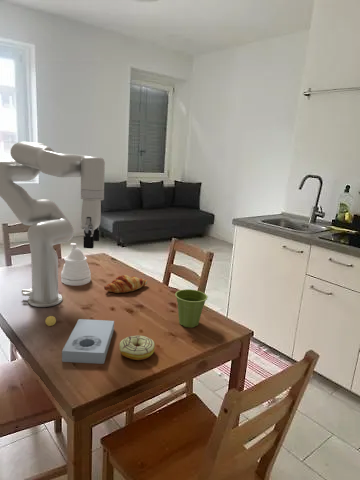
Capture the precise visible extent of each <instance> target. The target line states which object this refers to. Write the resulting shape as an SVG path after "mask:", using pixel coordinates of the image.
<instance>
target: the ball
mask: <svg viewBox="0 0 360 480" xmlns="http://www.w3.org/2000/svg"><path fill="white" fill-rule="evenodd" d="M44 321H45V325H47V326H48V327H52V326H54V325H55V324H56V323H57V318H56V317H55V316H53V315H49V316H47V317H46V318H45V320H44Z"/></svg>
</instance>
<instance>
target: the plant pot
mask: <svg viewBox="0 0 360 480" xmlns="http://www.w3.org/2000/svg"><path fill="white" fill-rule="evenodd" d="M174 297H176V302H177V310H178V313H177V314H178V322H179V323H178V324H179V325H181V326H183V327H184V328H195V327H197V326H199V323H200V321H201V320H200V319H201V316H202V314H203V313H202V312H203V309H204V306H205V304H206V301H207V300H208V298H209V296H208V294H206V293H204V291H203V292H202V291H200V290H197V289H190V288H189V289H188V288H187V289H179V290H177V291H176V292H175V296H174Z"/></svg>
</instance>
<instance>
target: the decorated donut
mask: <svg viewBox="0 0 360 480" xmlns="http://www.w3.org/2000/svg"><path fill="white" fill-rule="evenodd" d="M155 347H156V345H155V341H154V340H153V339H152V338H150V337H148V336H146V335H130V336H127V337H125V338H123V339H122V340H121V341H120V342H119V353H120V354H121V356H123V357H125V358H127V359H130V360H136V361H141V360H146V359H148V358H150V357H151V356H152V355H153V354H154V352H155V349H156V348H155Z"/></svg>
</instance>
